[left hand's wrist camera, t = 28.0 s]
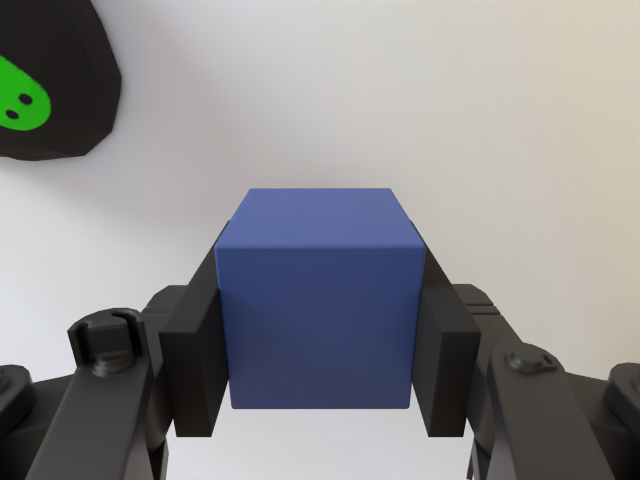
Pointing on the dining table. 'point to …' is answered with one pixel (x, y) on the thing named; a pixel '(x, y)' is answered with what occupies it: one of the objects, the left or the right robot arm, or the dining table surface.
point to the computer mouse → (54, 79)
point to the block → (320, 299)
